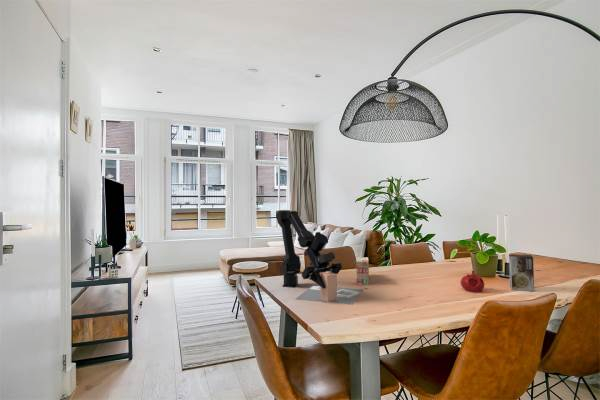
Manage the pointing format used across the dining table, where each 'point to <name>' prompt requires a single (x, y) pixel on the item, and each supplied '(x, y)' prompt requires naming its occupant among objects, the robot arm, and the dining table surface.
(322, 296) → the column block
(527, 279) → the coffee box
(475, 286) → the pomegranate
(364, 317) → the dining table surface
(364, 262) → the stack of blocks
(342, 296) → the board
